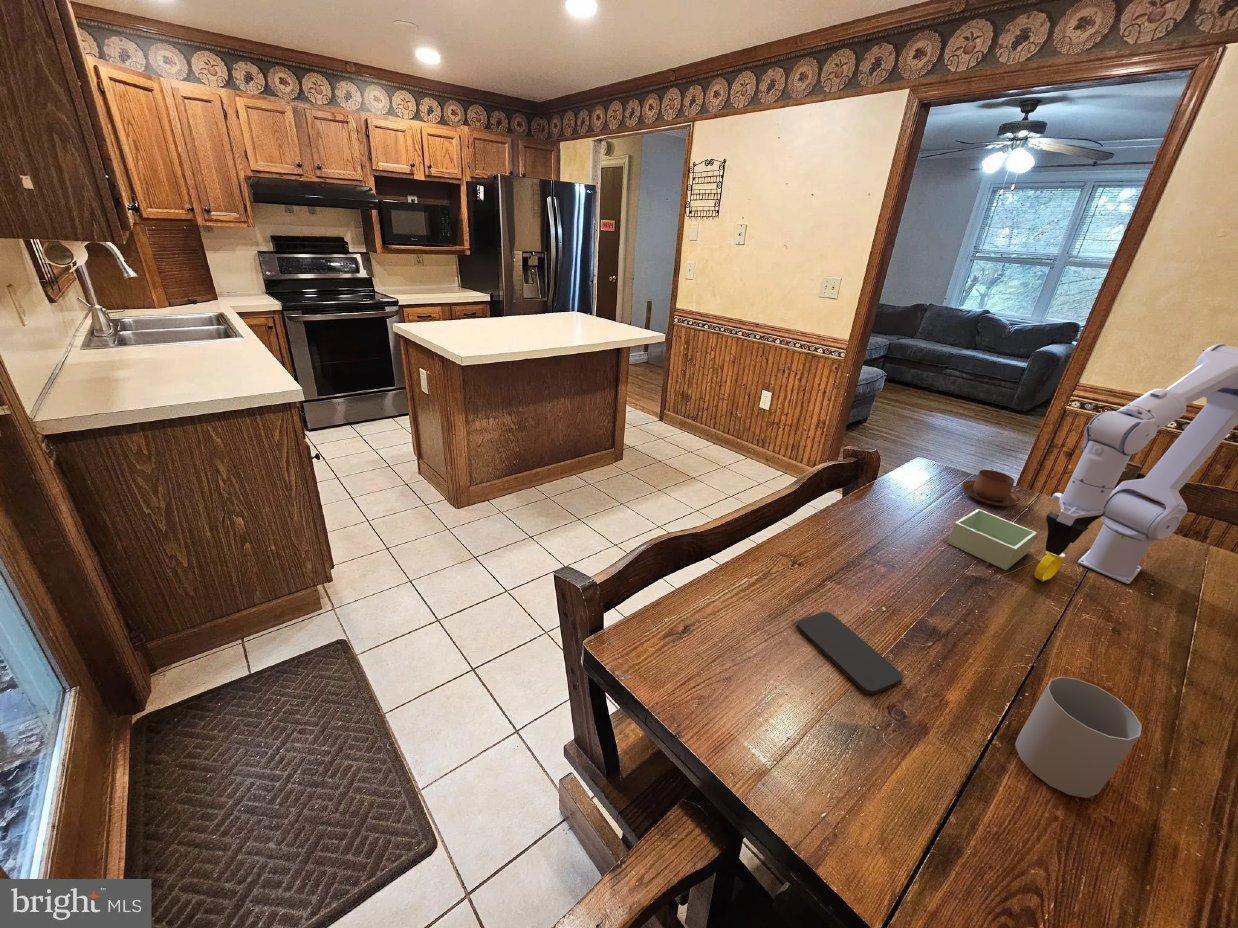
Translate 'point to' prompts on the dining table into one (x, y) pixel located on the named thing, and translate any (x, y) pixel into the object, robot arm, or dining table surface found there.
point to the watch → (1048, 566)
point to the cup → (1077, 736)
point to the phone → (850, 653)
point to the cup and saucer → (992, 488)
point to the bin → (991, 538)
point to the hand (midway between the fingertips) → (1059, 546)
